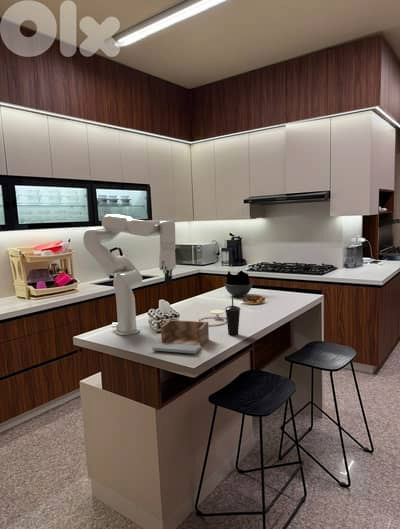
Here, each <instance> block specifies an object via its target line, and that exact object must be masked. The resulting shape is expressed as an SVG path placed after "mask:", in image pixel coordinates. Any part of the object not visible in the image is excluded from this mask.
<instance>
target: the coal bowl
mask: <svg viewBox="0 0 400 529" xmlns="http://www.w3.org/2000/svg"><path fill="white" fill-rule="evenodd" d="M224 287H225V290H226V291H227V292H228V294H230V295H231V296H233V297H236V298H238V297H239V298H241V297H245V296H246V295H247V294H249V293H250V291H251V289H252V287H253V282H252V281H250V279H249V274H248V273H247V272H245V271H244V270H239V271H238V272H237V273H236V274H235V275H233V274H232V273H231V271H227V274H226V282H224Z"/></svg>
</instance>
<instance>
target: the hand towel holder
mask: <svg viewBox="0 0 400 529" xmlns="http://www.w3.org/2000/svg"><path fill="white" fill-rule="evenodd" d="M224 312H225V311H224V310H222V309H212V310H210V313H211V314H212V316H203V317H201V318H198V319H197V320H196V321H200V322H201V321H202V320H207V319H217V320H219V319H220V320H222V319H223V322H220V323H216V324H215V323H214V324H208V327H219V326H223V325H225V324H226V323H227V318H225V317H222V316H220V315H221V314H223V313H224ZM213 315H215V316H213Z"/></svg>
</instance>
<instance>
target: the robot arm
mask: <svg viewBox="0 0 400 529" xmlns="http://www.w3.org/2000/svg"><path fill="white" fill-rule="evenodd" d="M121 233H125V234H130V235H132V236H133V235H134V236H138V237H139V236H140V237H152V236H153V237H154V236H159V260H158V262H159V264H158V268H159V270H160V271H162V274H163V275H164V284H167V285H171V284H173V271H174V270H175V268H176V263H177V262H176V259H177V258H176V251H175V250H176V245H177V244H176V222H175V221H173V220H159V219H158V220H157V219H153V220H152V219H150V220H145V219H144V220H143V219H134V218H133V217H132V216H129V215H123V214H121V213H111V214H106V215H104V216H103V217H102V219H101V226H97V227H90V228H88V229H86V230H85V232H84V234H83V238H82V239H83V240H82V241H83V245H84V248H85V249H86V251H87V252H88V253H89V254H90V255H91V256H92V257H93V259H95V261H96V262H97V263H98V265H99V266H100V267H101V268H102V269H103V271H104V272H105V273H106V274H107V275H109V276H115V277H114V279H113V282H112V283H113V290H114V293H115V302H116V314H117V315H116V316H117V322H112V323H111V328H113V329H114V328H115V331H114V332H115V334H116V335H120V336H129V335H134V334H137V333H138V332H140V327H138V326H137V314H136V298H135V294H134V292H133V290H132V289H135V288H138V287H140V286H141V285H142V283H143V276H142V274H141V272H140V271H139V270H138V268H137V267H136V266H135V265H134V263H132V261H131V260H130V259H129V258H127V256H124V255H118V256H116V255H114V254H113V253H112V252H111V251H110V249H109V248H108V247H107V246H105V245H103V244H102V243H109V242H112V241H113V240H115V238H117V237H118V236H119V234H121Z"/></svg>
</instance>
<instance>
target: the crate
mask: <svg viewBox="0 0 400 529" xmlns="http://www.w3.org/2000/svg"><path fill="white" fill-rule="evenodd" d="M208 325H209V322H208V321H201V320H200V321H197V320H180V319H179V320H178V319H176V320H175V319H169V320H167V321H166V322H165V323H163V324H162V325H161V326H160V333H161V334H160V335H161V343H170V344H183V345H196V346H201V348H203V347H204V346H205V344H207V343H208V341H209V340H210V336H209V332H210V331H209V326H208Z"/></svg>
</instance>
